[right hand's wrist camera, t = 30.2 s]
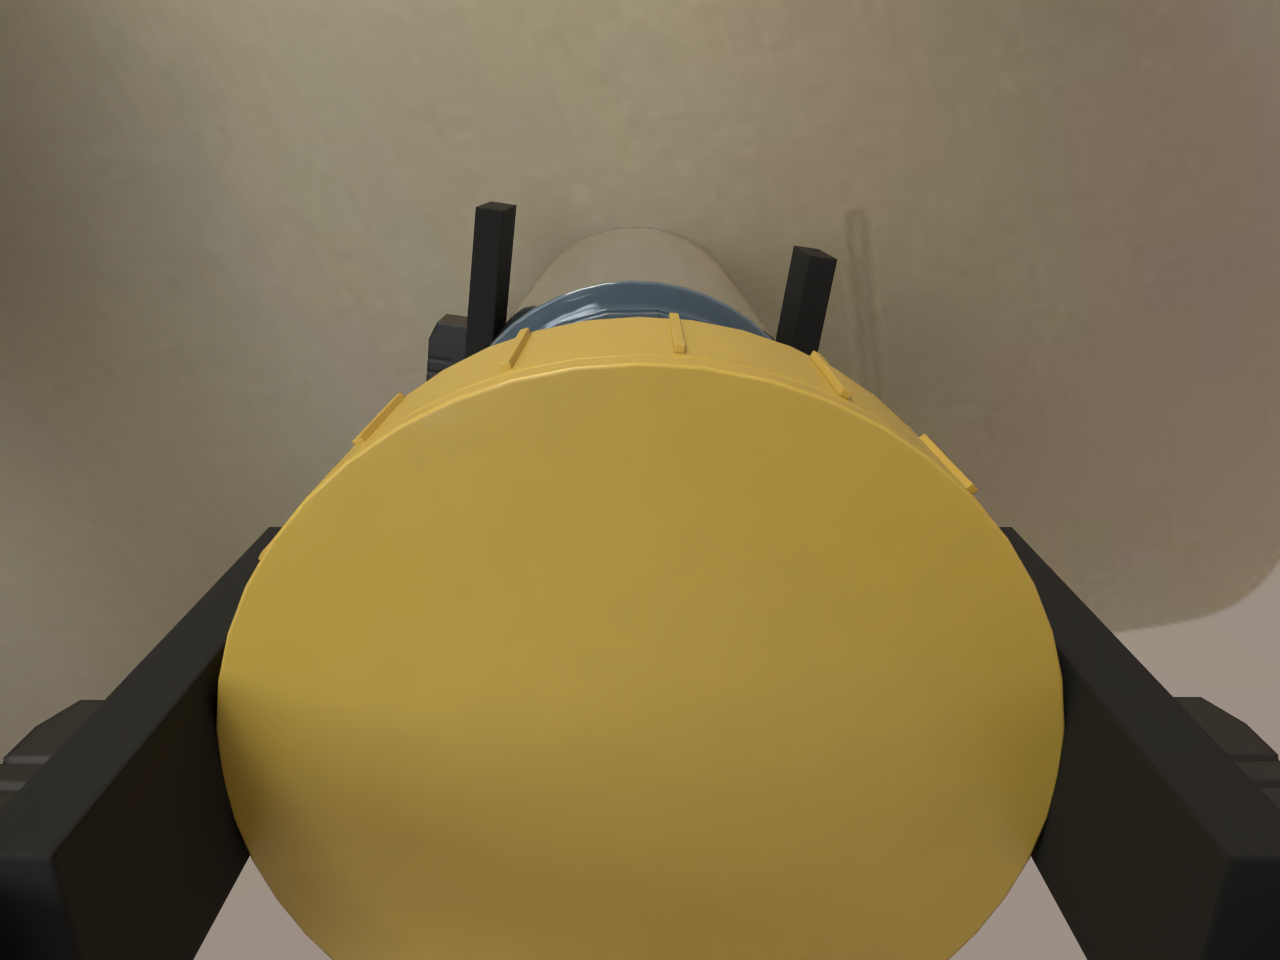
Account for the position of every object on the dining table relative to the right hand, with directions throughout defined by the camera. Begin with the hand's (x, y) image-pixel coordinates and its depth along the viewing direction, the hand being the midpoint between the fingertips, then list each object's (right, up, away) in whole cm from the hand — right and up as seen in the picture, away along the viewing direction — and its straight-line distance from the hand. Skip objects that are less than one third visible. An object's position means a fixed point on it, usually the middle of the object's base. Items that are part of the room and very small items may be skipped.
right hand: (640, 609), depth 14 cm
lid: (0, -1, -3) cm, 3 cm away
